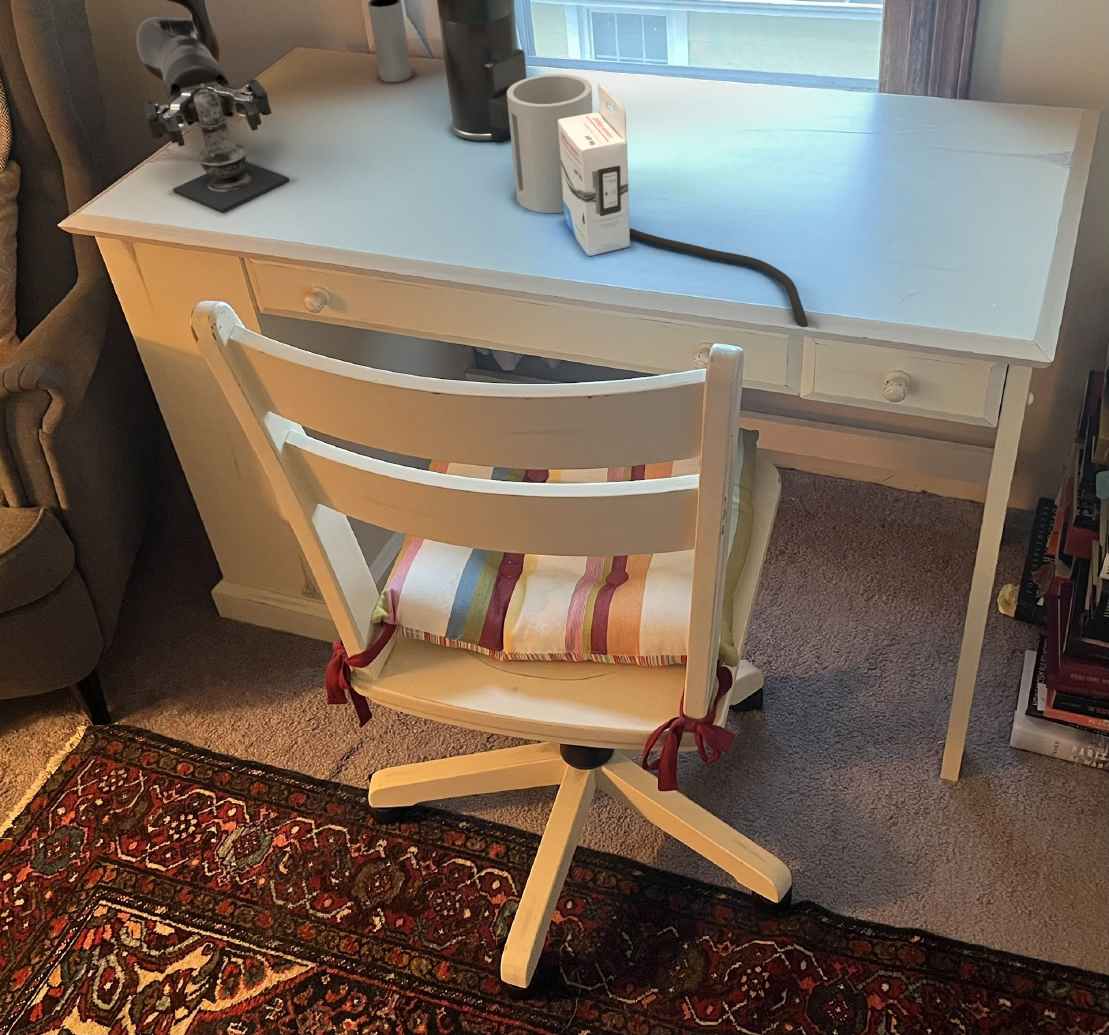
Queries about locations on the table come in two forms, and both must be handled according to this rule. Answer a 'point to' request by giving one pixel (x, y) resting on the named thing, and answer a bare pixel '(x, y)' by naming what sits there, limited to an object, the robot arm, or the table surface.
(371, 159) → the table surface
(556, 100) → the cup
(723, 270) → the table surface
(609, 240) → the ink box
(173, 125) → the robot arm
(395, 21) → the grey tall cylinder
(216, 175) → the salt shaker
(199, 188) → the mat
